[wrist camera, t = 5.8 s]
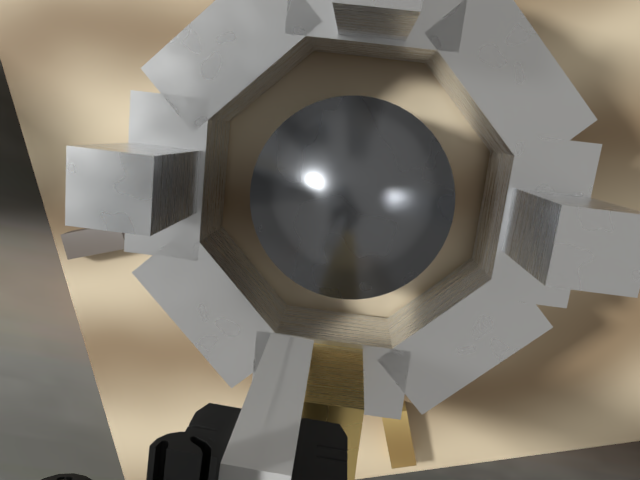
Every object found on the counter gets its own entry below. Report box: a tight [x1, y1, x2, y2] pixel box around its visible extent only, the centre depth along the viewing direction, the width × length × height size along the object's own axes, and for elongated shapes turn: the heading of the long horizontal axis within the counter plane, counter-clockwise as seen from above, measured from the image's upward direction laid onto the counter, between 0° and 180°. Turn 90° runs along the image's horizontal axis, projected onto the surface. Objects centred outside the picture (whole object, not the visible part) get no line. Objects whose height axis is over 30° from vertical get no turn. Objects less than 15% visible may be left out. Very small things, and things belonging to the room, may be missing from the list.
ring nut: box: [65, 0, 640, 480], centre depth 16 cm, size 14×14×7 cm
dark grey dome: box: [250, 96, 455, 300], centre depth 18 cm, size 6×6×4 cm
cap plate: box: [0, 0, 640, 480], centre depth 21 cm, size 24×24×2 cm
